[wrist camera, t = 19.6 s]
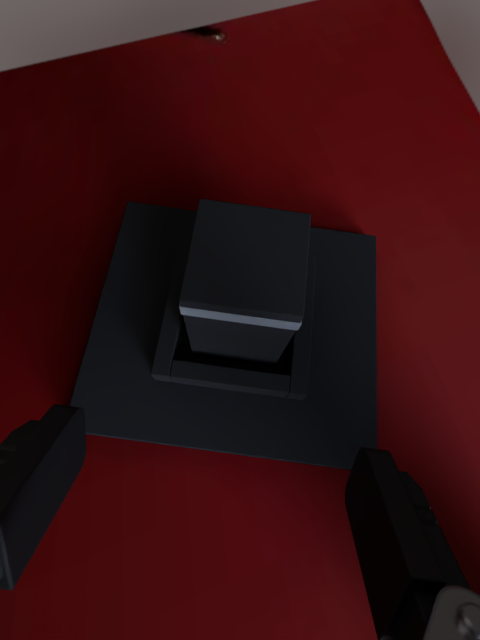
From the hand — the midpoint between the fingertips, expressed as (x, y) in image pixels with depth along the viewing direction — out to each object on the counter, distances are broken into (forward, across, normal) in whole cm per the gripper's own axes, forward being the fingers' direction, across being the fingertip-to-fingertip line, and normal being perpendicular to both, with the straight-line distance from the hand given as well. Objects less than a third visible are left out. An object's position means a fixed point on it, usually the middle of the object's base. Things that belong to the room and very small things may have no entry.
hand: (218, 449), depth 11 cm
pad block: (+12, 0, +1) cm, 12 cm away
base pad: (+13, 0, +2) cm, 13 cm away
